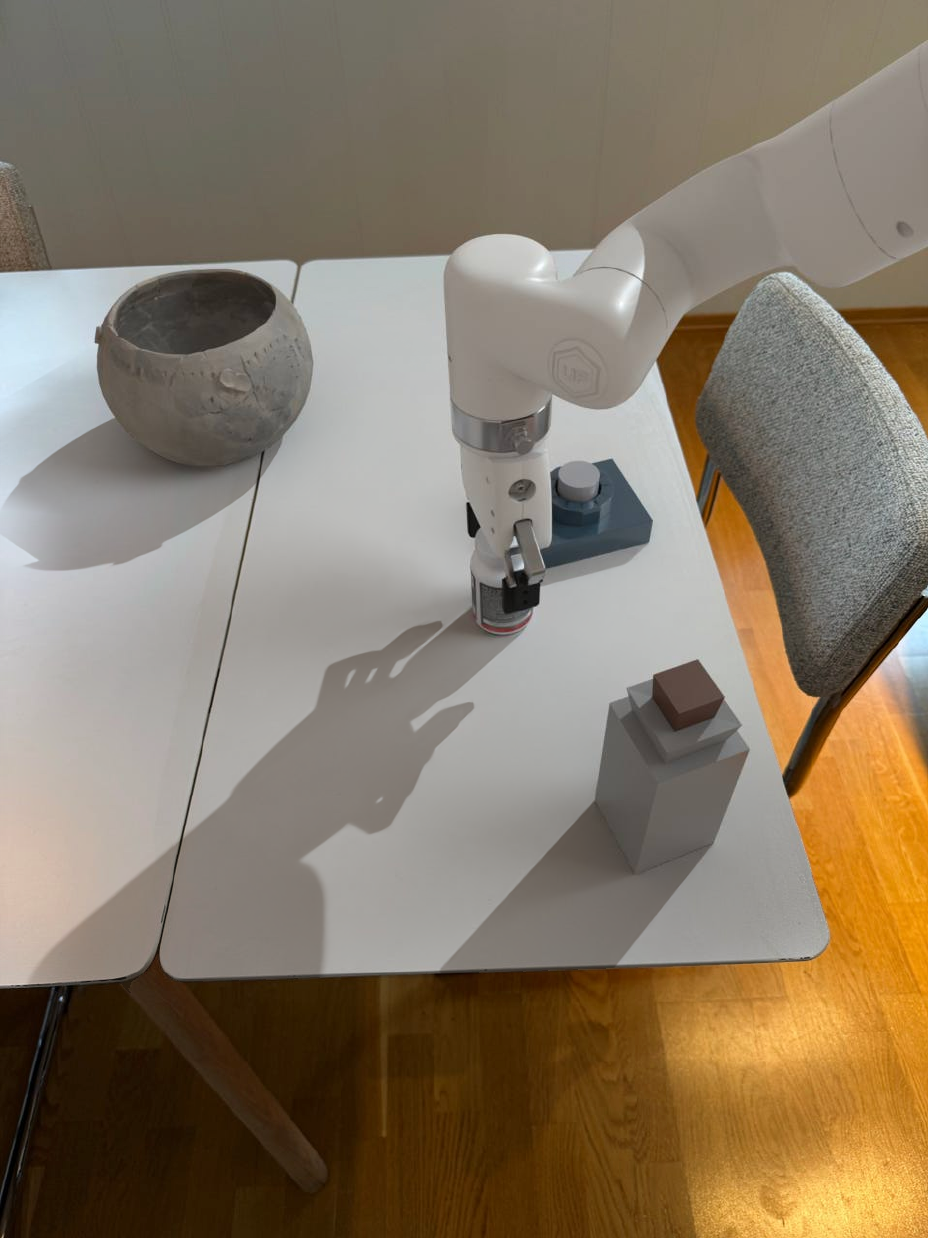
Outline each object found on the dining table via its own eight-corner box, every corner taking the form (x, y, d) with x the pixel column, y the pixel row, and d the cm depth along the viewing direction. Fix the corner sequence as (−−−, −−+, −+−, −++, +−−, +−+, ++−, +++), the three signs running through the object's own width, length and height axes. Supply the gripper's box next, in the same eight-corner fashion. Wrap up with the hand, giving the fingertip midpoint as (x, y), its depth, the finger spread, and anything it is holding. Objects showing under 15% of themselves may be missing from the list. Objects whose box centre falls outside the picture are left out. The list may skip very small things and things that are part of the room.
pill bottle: (545, 614, 84) (549, 539, 77) (502, 647, 82) (501, 572, 74) (503, 582, 87) (503, 506, 80) (459, 612, 85) (455, 537, 77)
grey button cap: (588, 472, 90) (590, 456, 89) (604, 498, 88) (606, 482, 86) (551, 481, 89) (552, 465, 88) (566, 507, 87) (567, 491, 85)
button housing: (609, 479, 96) (614, 442, 92) (649, 542, 90) (656, 505, 86) (503, 505, 94) (503, 468, 90) (537, 571, 88) (538, 534, 84)
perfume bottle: (594, 800, 72) (615, 662, 58) (669, 772, 73) (707, 631, 59) (634, 874, 67) (668, 745, 54) (713, 843, 69) (765, 709, 55)
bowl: (364, 408, 106) (347, 290, 94) (222, 518, 94) (183, 399, 83) (228, 346, 115) (198, 232, 104) (84, 439, 104) (32, 323, 92)
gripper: (593, 471, 62) (578, 629, 75) (510, 339, 73) (509, 497, 86) (490, 496, 61) (493, 652, 74) (421, 358, 72) (434, 515, 85)
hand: (502, 568), depth 80 cm, fingers open, 9 cm apart
